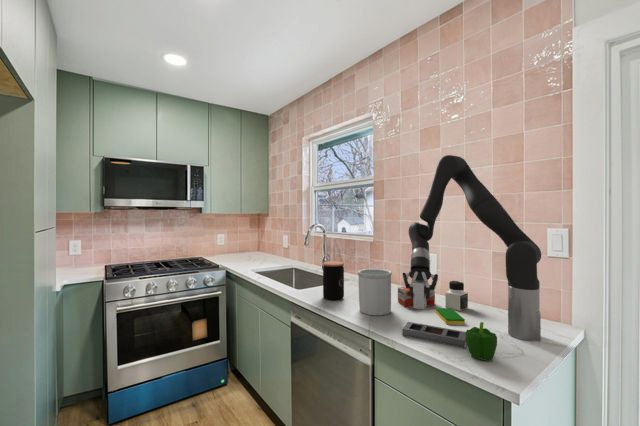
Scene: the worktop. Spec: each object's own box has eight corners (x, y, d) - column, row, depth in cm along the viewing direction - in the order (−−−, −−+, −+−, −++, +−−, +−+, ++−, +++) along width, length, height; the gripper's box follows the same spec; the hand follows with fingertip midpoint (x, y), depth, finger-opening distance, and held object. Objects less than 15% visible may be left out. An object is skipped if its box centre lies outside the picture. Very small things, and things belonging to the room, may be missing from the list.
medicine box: (425, 300, 149) (425, 284, 149) (435, 305, 141) (435, 288, 141) (397, 302, 146) (397, 286, 146) (405, 308, 138) (405, 290, 138)
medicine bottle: (460, 311, 132) (460, 284, 132) (445, 307, 138) (444, 281, 138) (468, 308, 137) (468, 281, 137) (452, 304, 142) (452, 278, 142)
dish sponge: (446, 325, 117) (446, 319, 117) (435, 313, 131) (435, 307, 131) (465, 325, 117) (465, 319, 117) (451, 313, 131) (451, 308, 131)
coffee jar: (343, 301, 148) (342, 264, 148) (321, 300, 149) (321, 264, 149) (344, 295, 158) (344, 261, 158) (324, 294, 160) (324, 260, 160)
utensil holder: (351, 308, 137) (351, 269, 137) (377, 303, 144) (377, 267, 144) (371, 318, 124) (371, 276, 124) (399, 312, 131) (398, 272, 131)
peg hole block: (466, 339, 104) (466, 332, 104) (464, 348, 97) (464, 340, 97) (408, 327, 114) (408, 321, 114) (402, 335, 107) (402, 328, 107)
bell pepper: (489, 367, 85) (489, 331, 85) (460, 356, 92) (460, 323, 92) (502, 358, 90) (502, 325, 90) (474, 348, 97) (474, 317, 97)
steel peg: (426, 306, 117) (426, 280, 117) (424, 309, 114) (423, 282, 114) (416, 304, 119) (415, 279, 119) (413, 307, 116) (412, 281, 116)
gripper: (401, 255, 126) (399, 291, 115) (438, 256, 121) (439, 293, 110) (403, 265, 131) (401, 301, 120) (438, 267, 126) (439, 304, 115)
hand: (419, 297), depth 115 cm, fingers closed on steel peg, 4 cm apart
